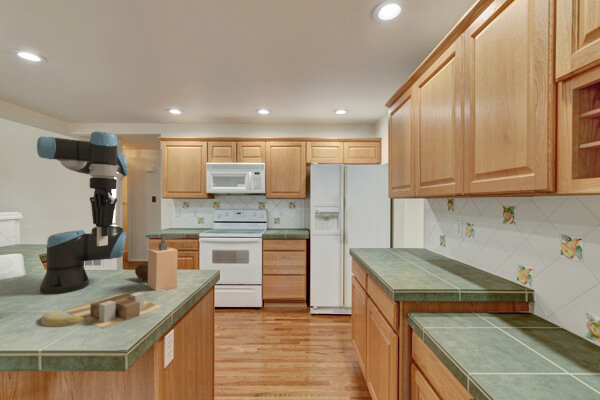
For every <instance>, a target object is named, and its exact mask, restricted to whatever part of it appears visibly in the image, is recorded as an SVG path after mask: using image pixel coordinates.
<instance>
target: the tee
mask: <svg viewBox="0 0 600 400" xmlns="http://www.w3.org/2000/svg"><path fill="white" fill-rule="evenodd" d="M133 293H134V292H131V291H130V292H125V293H121V294H122V295H119V294H117V295H118V296H115V295H114V296H115V297H112V296H111V297H112V298H108V297H107V298H108V299H105V298H104V299H105V300H101V299H100V300H101V301H98V300H97V301H98V302H94V301H93V302H94V303H91V302H90V303H91V309H90V317H93V318H95V319H99V304H100V303H104V302H107V301H113V302H116V307H115V316H117V317H119V318H122V319H125V321H128V320H131V319H133V318H135V317H136V318H137V317H138V316H140V315H141V314H140V302H137V301H133V300H130V294H133Z"/></svg>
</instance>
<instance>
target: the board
mask: <svg viewBox="0 0 600 400" xmlns="http://www.w3.org/2000/svg"><path fill="white" fill-rule="evenodd" d="M122 294H123V293H119V294H116V295H112V296H109V297H108V296H107V297H106V298H101V299H98V300H95V301H91V302H88V303H84V304H80V305H78V306H74V307H70V308H68V309H67V308H66V309H65V310H62V312H64V313H66V314H69V315H71V316H76V317H84V318H85V320H86V321H85V322H88V323H90V324H92V325H93V326H97V327H99V328H101V329H106V328H109V327H111V326H114V325H116V324H119V323H122V322H124V321H126V320H125V319H122V318H119V317H117V316H115V319H113V320H110V321H108V322H105V323H104V322H102V321H99V319H95V318H93V317H90V309H91V303H94V302H98V301H101V300H105V299H108V298H112V297H115V296H118V295H122ZM161 307H162V305H159V304H156V303H153V302H149V301H146V300H144V309H141V310H140V315H143V314H145V313H148V312H151V311H153V310H157V309H158V308H161Z"/></svg>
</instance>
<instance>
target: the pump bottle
mask: <svg viewBox="0 0 600 400" xmlns="http://www.w3.org/2000/svg"><path fill="white" fill-rule="evenodd" d="M160 238H161V240H160V242H159V243H158V248H153V249H147V251H148V253H147V261H148V281H147V286H148V288H151V289H152V290H154V291H160V290H162V291H163V290H164V291H170V290H173V289H177V288H178V253H179V252H178V249H176V248H173V247H168V243H166V241H167V240H176V239H184V234H182V233H181V234H173V235H172V234H171V235H161V236H160Z"/></svg>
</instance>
